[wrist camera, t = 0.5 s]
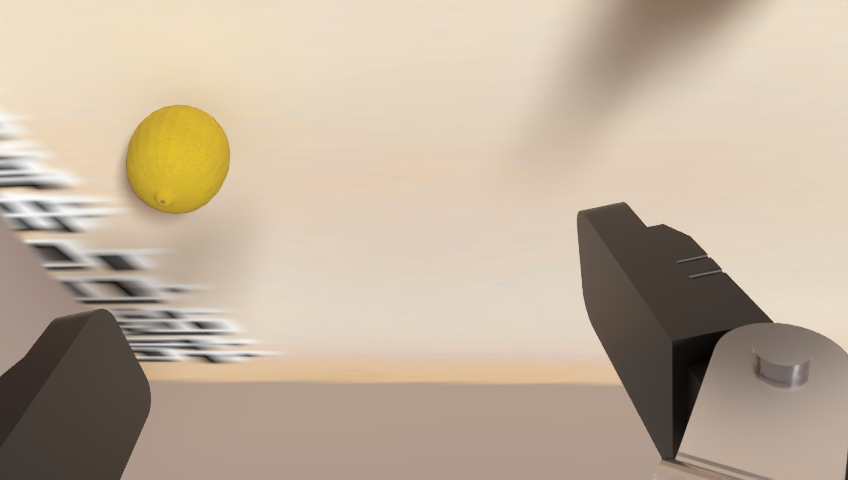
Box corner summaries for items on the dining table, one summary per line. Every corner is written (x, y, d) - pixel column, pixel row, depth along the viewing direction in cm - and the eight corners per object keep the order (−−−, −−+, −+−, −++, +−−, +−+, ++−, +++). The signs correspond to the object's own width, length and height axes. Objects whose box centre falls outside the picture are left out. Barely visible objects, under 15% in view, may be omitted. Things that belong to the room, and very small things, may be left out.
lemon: (198, 66, 37) (166, 144, 31) (256, 134, 41) (237, 216, 35) (127, 105, 39) (84, 187, 33) (189, 168, 42) (160, 252, 36)
